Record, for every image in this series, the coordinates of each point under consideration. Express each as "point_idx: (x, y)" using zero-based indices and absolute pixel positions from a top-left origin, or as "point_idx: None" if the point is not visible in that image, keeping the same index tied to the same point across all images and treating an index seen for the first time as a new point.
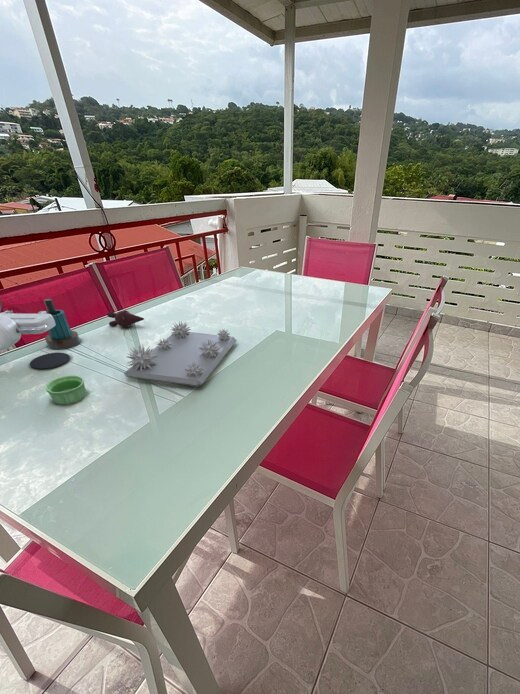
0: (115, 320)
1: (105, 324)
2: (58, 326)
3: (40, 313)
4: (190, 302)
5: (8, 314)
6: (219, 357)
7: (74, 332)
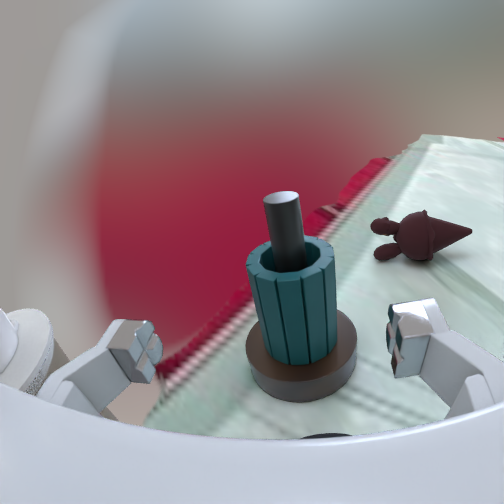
0: (404, 243)
1: (355, 255)
2: (318, 317)
3: (426, 342)
4: (448, 182)
5: (139, 474)
6: None
7: None
